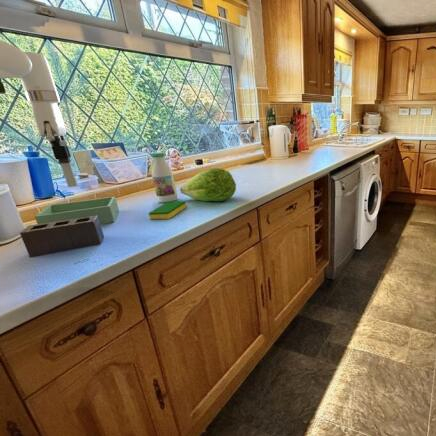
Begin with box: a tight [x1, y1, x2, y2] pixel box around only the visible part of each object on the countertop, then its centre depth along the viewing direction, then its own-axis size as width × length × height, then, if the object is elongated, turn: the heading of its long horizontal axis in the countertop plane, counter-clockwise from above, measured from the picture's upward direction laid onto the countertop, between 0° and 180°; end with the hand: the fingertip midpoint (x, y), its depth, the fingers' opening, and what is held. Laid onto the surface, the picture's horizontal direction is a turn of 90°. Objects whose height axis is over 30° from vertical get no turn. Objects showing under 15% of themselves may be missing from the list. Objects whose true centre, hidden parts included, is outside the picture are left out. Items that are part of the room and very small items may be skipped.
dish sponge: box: [148, 200, 187, 220], centre depth 111 cm, size 7×14×2 cm, turn 0°
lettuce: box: [179, 167, 237, 202], centre depth 124 cm, size 15×24×14 cm, turn 73°
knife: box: [57, 140, 79, 188], centre depth 99 cm, size 3×2×15 cm
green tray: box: [34, 196, 120, 225], centre depth 105 cm, size 20×15×6 cm
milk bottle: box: [151, 151, 179, 203], centre depth 125 cm, size 8×8×20 cm
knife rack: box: [19, 215, 105, 258], centre depth 84 cm, size 16×6×7 cm, turn 118°
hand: (63, 157), depth 99 cm, fingers closed on knife, 2 cm apart
